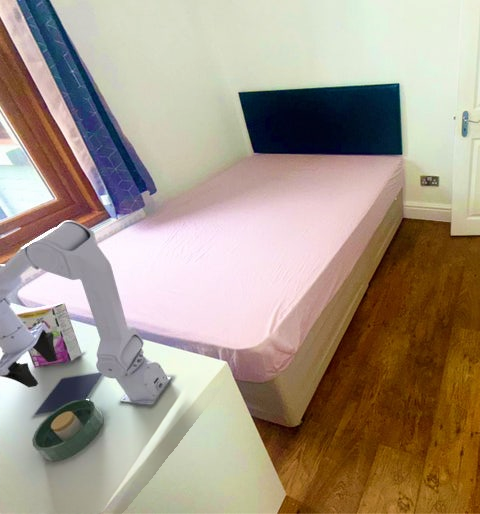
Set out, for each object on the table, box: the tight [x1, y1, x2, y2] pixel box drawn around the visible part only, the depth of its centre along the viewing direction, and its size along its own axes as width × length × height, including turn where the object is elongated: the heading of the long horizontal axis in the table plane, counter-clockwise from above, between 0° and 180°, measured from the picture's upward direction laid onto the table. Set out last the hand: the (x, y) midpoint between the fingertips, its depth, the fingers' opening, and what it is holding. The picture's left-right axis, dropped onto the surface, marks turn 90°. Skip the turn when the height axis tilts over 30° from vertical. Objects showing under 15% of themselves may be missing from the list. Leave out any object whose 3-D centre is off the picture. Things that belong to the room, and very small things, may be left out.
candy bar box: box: [15, 302, 83, 369], centre depth 102 cm, size 11×5×16 cm, turn 94°
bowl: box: [31, 398, 104, 462], centre depth 79 cm, size 12×12×4 cm
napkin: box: [34, 372, 103, 415], centre depth 92 cm, size 12×11×1 cm
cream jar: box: [51, 411, 84, 442], centre depth 79 cm, size 4×4×5 cm
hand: (43, 372), depth 86 cm, fingers open, 7 cm apart
